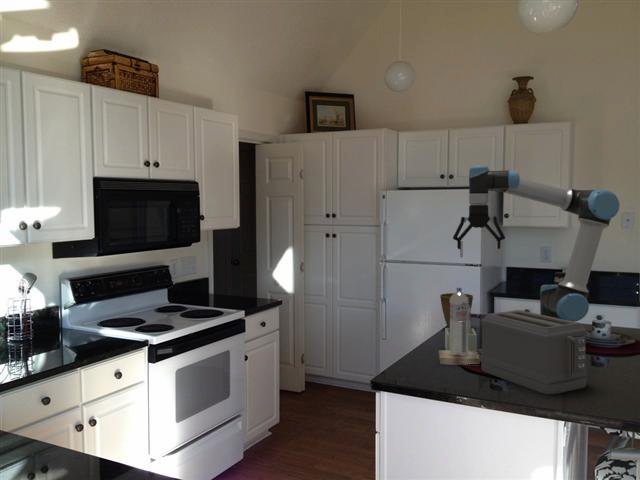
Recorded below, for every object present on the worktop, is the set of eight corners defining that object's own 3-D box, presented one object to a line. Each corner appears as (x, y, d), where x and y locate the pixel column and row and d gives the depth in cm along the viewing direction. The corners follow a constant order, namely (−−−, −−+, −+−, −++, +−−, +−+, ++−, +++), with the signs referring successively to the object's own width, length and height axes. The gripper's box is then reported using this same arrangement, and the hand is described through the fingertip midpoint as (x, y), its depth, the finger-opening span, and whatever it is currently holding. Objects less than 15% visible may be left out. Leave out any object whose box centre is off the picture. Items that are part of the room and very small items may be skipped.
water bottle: (469, 352, 221) (469, 286, 219) (467, 357, 215) (467, 289, 213) (450, 351, 223) (450, 286, 222) (448, 355, 217) (448, 288, 215)
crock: (473, 348, 238) (473, 328, 237) (476, 355, 226) (476, 334, 226) (445, 347, 239) (445, 328, 239) (447, 354, 228) (447, 334, 227)
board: (476, 357, 224) (476, 350, 224) (479, 365, 213) (479, 358, 213) (438, 356, 226) (438, 350, 225) (440, 364, 215) (440, 357, 215)
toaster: (553, 397, 178) (554, 331, 176) (477, 369, 208) (477, 313, 206) (595, 388, 186) (596, 325, 184) (516, 362, 216) (517, 308, 215)
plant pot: (476, 332, 264) (476, 297, 263) (443, 333, 265) (443, 298, 264) (468, 325, 279) (468, 292, 278) (437, 326, 280) (437, 292, 278)
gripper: (509, 203, 238) (508, 256, 239) (446, 205, 241) (446, 256, 243) (512, 204, 230) (512, 257, 232) (447, 205, 234) (447, 258, 235)
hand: (478, 257), depth 237 cm, fingers open, 13 cm apart
